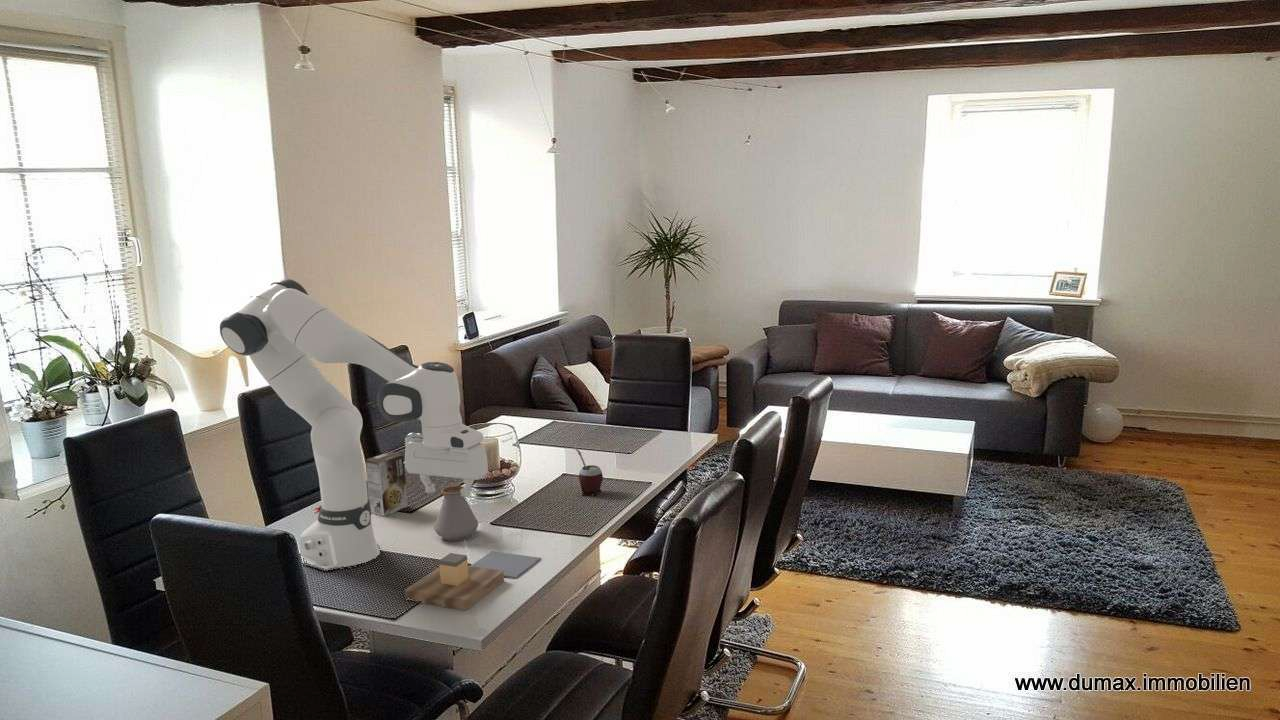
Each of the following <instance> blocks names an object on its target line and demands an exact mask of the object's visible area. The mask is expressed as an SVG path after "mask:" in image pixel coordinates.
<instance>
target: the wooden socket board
mask: <svg viewBox="0 0 1280 720" xmlns="http://www.w3.org/2000/svg"><path fill="white" fill-rule="evenodd" d="M468 575H469V579H467V580H466V581H465V582H463V583H462V584H460V585H459V586H453V585H447V584H441V577H440V566H439V567H437V568H435V569H434V570H432V571H430V573H427V574H426V575H425V576H423V577H421V578H420V579H419V580H417V581H416V582H413V584H411V585H410V586H408V587H407V588H405V589H404V597H405V598H409V599H414V600H418V601H421V602H423V603H422V604H425V603H426V605H431V606H437V607H442V608H448V609H455V610H460V611H466V612H467V610H468V609H470V608H471V607H472V606H474V605H475V604H476V603H478V602H479V601H480V600H482V599H483V598H484V597H486V596H487V595H488V594H489V593H491V592H492V591H493V590H494V589H496V588H497V587H498V586H499V585H501V584H502V583H503V582H505V577H504V574H503V571H500V570H493V569H486V568H480V567H473V566H471V565H468Z"/></svg>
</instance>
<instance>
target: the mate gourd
mask: <svg viewBox="0 0 1280 720" xmlns="http://www.w3.org/2000/svg"><path fill="white" fill-rule="evenodd" d="M570 447H571V448H573V449H574V450H576V452H577V454H578V456H579V457H580V460H581V462H582V465H583V466H582V467H581V469H580V470H579V473H578V480H579V484H580V488H581V492H582V494H581V496H582V495H586V496H588V495H587V494H590V495H591V494H593V495H594V497H595V496H596V497H598V496H597V495H598V493H597V492H599V493H602V490H601V487H602V484H603V479H604V475H603V472H602V470H601V469H602V468H601V467H600V466H597V465H593V464H591V465H586V463H585V460H584V458H583V455H582V452H581V451H580V450H579V449H578V448H577V447H575V446H574V445H572V444H570ZM593 495H592V496H593Z"/></svg>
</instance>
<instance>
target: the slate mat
mask: <svg viewBox="0 0 1280 720" xmlns="http://www.w3.org/2000/svg"><path fill="white" fill-rule="evenodd" d="M540 560H542V559H541V557H537V556H531V555H523V554H516V553H511V552H501V551H495V550H492V551H490V552H489V553H487V554H485V555H484V556H482V557H481V558H479V559H478V560H477V561H475V562H474V563H472V565H470V566H473V567H480V568H486V569H493V570H500V571H503V574H504V578H508V579H515V580H516V579H517V578H519V577H520V576H521V575H523V574H524V573H525V572H526V571H528V570H529V569H530V568H532V567H533V566H534V565H536V564H537V563H538V562H539V561H540Z"/></svg>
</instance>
